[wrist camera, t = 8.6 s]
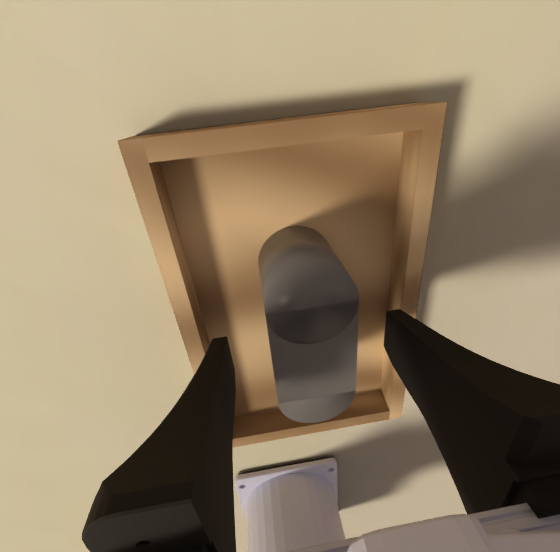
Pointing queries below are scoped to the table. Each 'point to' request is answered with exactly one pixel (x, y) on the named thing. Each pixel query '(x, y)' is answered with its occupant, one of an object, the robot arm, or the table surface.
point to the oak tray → (284, 213)
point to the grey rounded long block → (309, 324)
